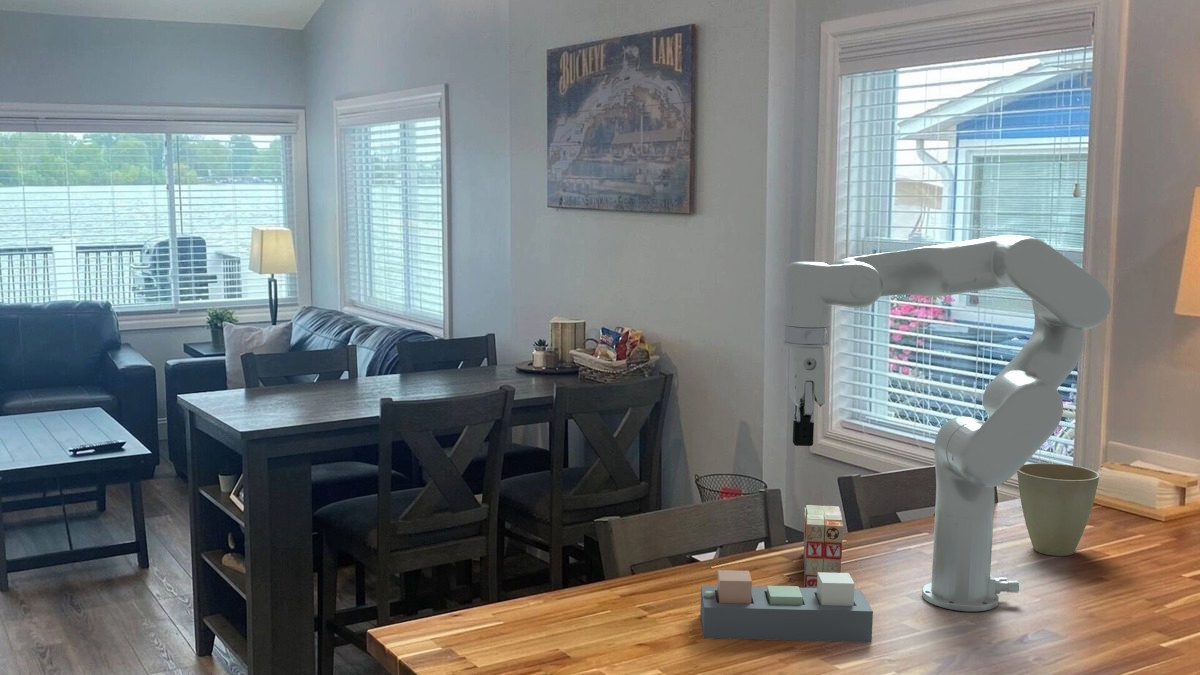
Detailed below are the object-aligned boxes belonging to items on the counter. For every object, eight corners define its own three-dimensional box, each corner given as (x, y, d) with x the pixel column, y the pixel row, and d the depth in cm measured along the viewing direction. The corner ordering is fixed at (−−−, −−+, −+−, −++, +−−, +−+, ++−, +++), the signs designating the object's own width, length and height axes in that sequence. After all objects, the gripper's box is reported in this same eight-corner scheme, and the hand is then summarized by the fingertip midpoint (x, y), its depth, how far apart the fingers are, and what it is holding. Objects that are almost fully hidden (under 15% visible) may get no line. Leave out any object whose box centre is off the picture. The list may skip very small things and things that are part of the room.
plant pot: (1100, 547, 227) (1105, 468, 225) (1086, 567, 215) (1092, 484, 213) (1021, 534, 235) (1026, 458, 233) (1004, 553, 223) (1009, 473, 221)
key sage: (797, 616, 186) (798, 586, 185) (801, 627, 181) (802, 597, 180) (766, 615, 186) (767, 585, 185) (769, 626, 181) (770, 596, 180)
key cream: (847, 602, 185) (848, 573, 185) (853, 614, 180) (854, 583, 180) (816, 602, 185) (817, 572, 185) (821, 613, 180) (822, 582, 180)
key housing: (859, 618, 188) (860, 585, 187) (871, 642, 178) (873, 607, 177) (700, 614, 189) (701, 581, 188) (703, 638, 179) (704, 603, 178)
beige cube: (748, 600, 186) (748, 570, 185) (751, 611, 181) (751, 581, 180) (717, 600, 186) (717, 570, 185) (719, 611, 181) (719, 580, 180)
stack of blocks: (802, 553, 222) (804, 491, 220) (835, 555, 221) (838, 493, 219) (804, 591, 201) (806, 522, 199) (840, 593, 200) (843, 524, 198)
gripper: (836, 342, 183) (832, 455, 185) (822, 331, 198) (818, 435, 200) (789, 342, 183) (786, 454, 186) (778, 330, 198) (775, 435, 200)
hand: (802, 444), depth 193 cm, fingers closed
